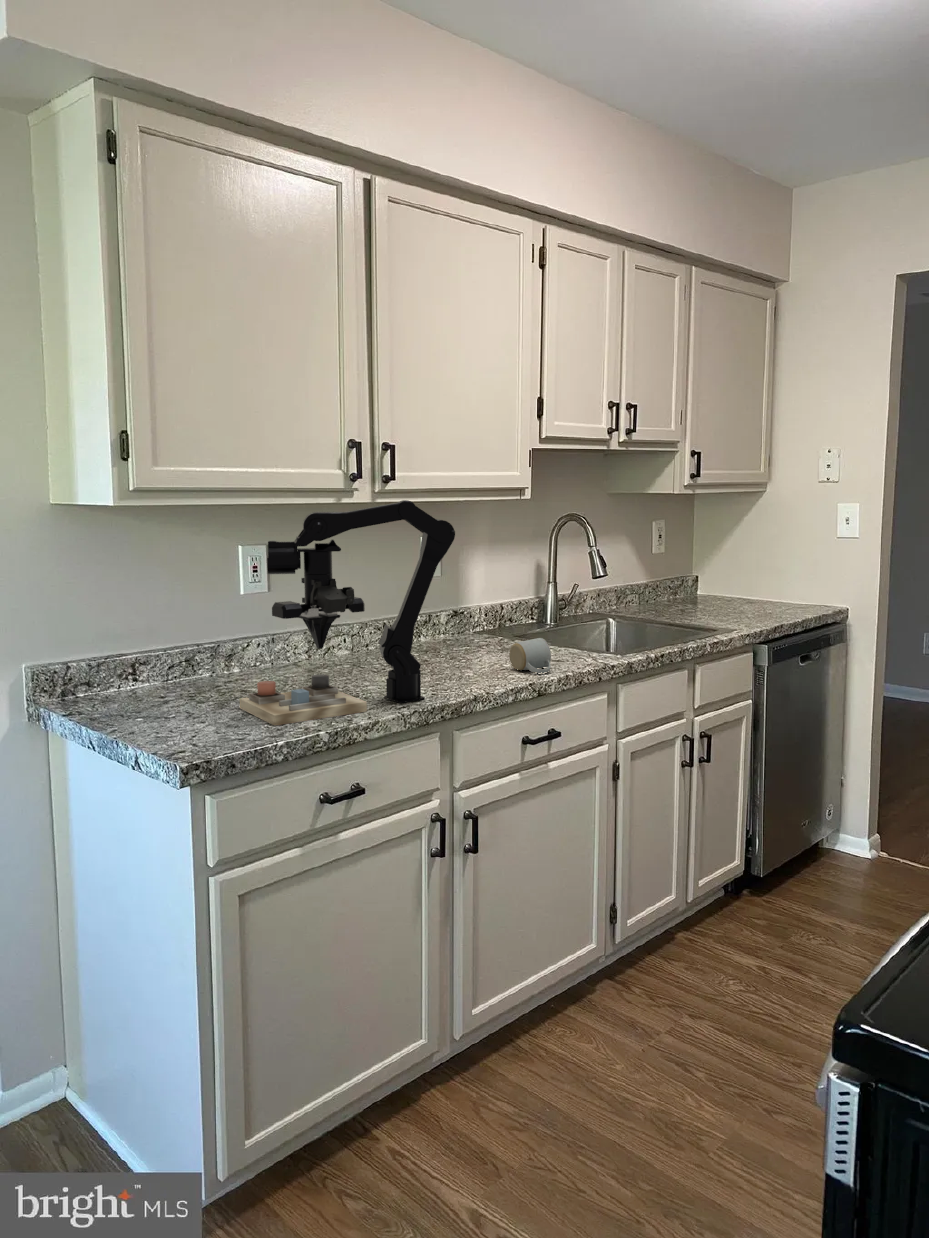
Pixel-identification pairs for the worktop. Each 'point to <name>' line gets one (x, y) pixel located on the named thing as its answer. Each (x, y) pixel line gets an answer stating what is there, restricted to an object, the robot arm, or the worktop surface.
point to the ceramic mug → (531, 655)
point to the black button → (320, 681)
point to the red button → (266, 688)
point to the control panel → (302, 705)
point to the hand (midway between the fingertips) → (319, 648)
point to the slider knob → (299, 696)
